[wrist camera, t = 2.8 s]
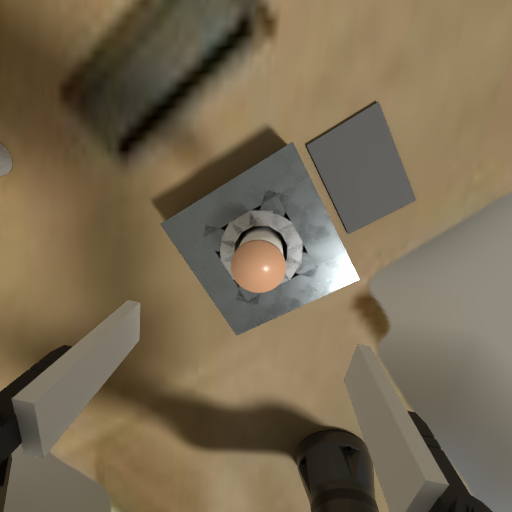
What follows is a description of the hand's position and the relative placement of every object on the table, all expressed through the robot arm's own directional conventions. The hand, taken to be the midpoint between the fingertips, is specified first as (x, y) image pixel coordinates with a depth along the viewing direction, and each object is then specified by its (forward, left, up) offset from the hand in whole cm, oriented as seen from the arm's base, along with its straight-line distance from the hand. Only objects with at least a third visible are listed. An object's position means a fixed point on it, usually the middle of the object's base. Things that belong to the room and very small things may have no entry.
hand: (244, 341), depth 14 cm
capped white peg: (0, 0, -24) cm, 24 cm away
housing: (0, 0, -24) cm, 24 cm away
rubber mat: (+2, -17, -24) cm, 29 cm away
